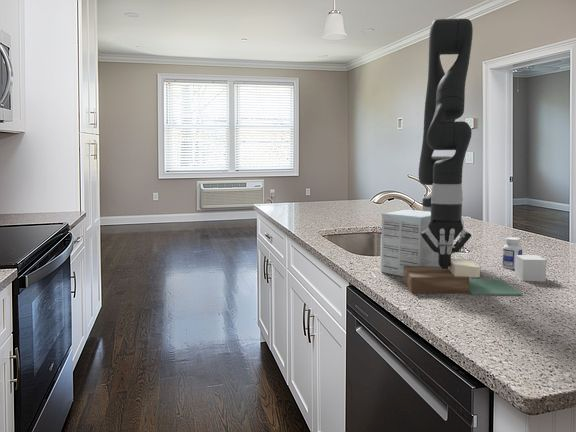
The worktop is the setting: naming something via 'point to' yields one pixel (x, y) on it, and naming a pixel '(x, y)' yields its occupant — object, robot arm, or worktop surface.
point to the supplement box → (406, 241)
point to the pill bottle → (511, 252)
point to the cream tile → (464, 268)
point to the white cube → (530, 268)
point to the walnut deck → (434, 280)
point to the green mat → (491, 287)
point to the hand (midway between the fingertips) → (444, 268)
